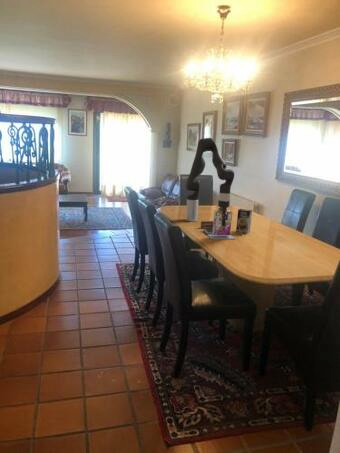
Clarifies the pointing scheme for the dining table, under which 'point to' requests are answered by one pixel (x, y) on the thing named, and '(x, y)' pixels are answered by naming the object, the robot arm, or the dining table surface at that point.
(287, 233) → the dining table surface
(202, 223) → the walled channel
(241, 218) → the coffee box
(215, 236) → the pad
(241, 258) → the dining table surface
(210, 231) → the tray
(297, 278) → the dining table surface
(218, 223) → the candy bar box
